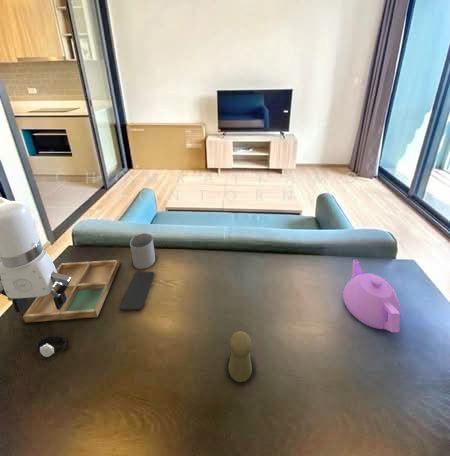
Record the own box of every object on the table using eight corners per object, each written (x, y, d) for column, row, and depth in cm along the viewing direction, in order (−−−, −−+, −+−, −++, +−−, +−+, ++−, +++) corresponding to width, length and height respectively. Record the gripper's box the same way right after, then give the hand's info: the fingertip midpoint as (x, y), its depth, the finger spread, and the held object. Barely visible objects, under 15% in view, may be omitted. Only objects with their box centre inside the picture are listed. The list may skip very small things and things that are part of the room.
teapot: (419, 343, 69) (431, 312, 65) (365, 347, 68) (374, 316, 64) (371, 279, 90) (378, 252, 86) (329, 281, 89) (334, 254, 85)
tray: (25, 322, 76) (22, 316, 75) (62, 268, 96) (60, 263, 95) (97, 317, 77) (96, 311, 76) (119, 264, 97) (118, 259, 96)
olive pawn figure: (239, 350, 68) (239, 321, 64) (256, 368, 64) (258, 339, 60) (223, 367, 64) (223, 338, 60) (241, 388, 60) (241, 358, 56)
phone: (118, 308, 79) (135, 271, 93) (118, 310, 79) (135, 272, 93) (141, 309, 79) (154, 271, 93) (141, 311, 79) (155, 273, 93)
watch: (33, 356, 67) (29, 347, 66) (45, 338, 71) (42, 329, 70) (60, 358, 66) (57, 349, 65) (71, 339, 71) (69, 331, 70)
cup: (146, 250, 105) (143, 230, 101) (159, 258, 100) (157, 238, 96) (129, 262, 98) (125, 242, 95) (142, 272, 94) (138, 251, 90)
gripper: (-32, 267, 54) (-5, 322, 60) (51, 262, 55) (69, 317, 61) (-4, 243, 61) (17, 295, 67) (69, 239, 62) (83, 291, 68)
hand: (42, 305), depth 64 cm, fingers open, 9 cm apart
